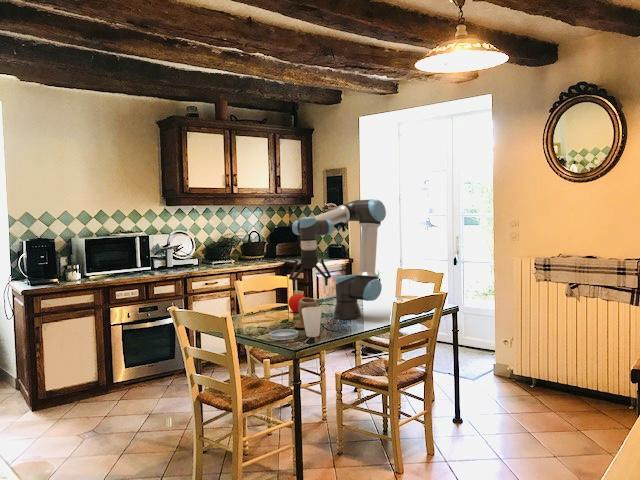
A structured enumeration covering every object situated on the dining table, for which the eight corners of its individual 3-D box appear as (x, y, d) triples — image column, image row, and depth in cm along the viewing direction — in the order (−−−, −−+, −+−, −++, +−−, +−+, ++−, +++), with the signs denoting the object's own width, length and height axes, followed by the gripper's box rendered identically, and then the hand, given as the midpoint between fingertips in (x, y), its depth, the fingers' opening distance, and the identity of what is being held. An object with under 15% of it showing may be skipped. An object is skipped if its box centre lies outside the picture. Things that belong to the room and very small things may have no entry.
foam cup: (320, 337, 269) (319, 310, 268) (301, 337, 271) (300, 310, 270) (324, 333, 279) (322, 307, 278) (305, 333, 280) (304, 307, 279)
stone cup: (314, 330, 286) (312, 300, 285) (291, 329, 289) (290, 300, 288) (322, 323, 300) (320, 295, 299) (300, 323, 304) (299, 295, 303)
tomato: (308, 309, 339) (307, 292, 339) (305, 313, 329) (305, 295, 328) (290, 310, 340) (289, 292, 340) (287, 313, 330) (287, 295, 329)
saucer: (298, 332, 282) (298, 328, 282) (297, 339, 268) (297, 335, 268) (270, 333, 282) (270, 329, 282) (268, 340, 268) (267, 336, 268)
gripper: (282, 251, 268) (284, 295, 270) (335, 248, 268) (336, 293, 270) (283, 249, 276) (285, 292, 277) (334, 247, 276) (336, 290, 277)
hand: (310, 293), depth 273 cm, fingers open, 13 cm apart
